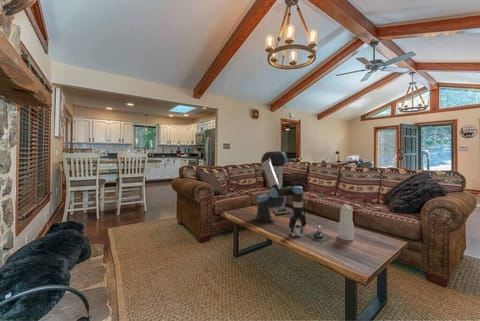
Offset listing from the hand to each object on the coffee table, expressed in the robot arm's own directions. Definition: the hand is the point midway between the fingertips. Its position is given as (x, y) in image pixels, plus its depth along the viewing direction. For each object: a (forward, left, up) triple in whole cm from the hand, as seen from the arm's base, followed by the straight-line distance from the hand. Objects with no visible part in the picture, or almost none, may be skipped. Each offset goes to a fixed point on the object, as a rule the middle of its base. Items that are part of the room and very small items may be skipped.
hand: (297, 235), depth 168 cm
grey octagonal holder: (0, 0, +1) cm, 1 cm away
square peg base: (+12, +10, 0) cm, 15 cm away
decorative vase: (+22, +28, 0) cm, 36 cm away
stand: (0, 0, 0) cm, 0 cm away
